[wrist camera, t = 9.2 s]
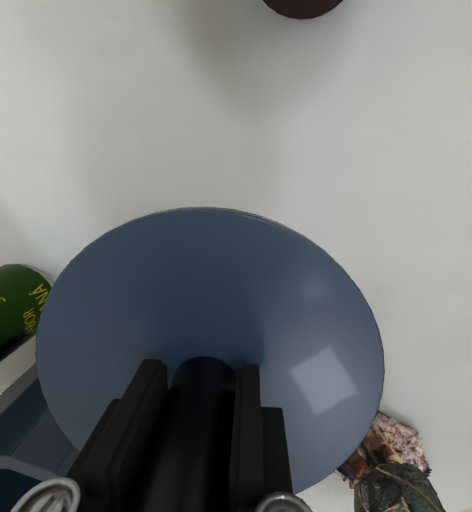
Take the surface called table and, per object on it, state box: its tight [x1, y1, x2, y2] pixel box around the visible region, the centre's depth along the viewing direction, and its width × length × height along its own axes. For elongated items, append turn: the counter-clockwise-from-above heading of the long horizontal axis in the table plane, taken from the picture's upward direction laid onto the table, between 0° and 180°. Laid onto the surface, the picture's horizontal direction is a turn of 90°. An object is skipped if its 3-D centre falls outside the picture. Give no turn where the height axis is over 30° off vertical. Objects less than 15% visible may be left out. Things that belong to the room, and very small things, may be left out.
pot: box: [0, 363, 80, 512], centre depth 21 cm, size 12×17×10 cm
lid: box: [36, 207, 385, 512], centre depth 9 cm, size 13×13×7 cm
